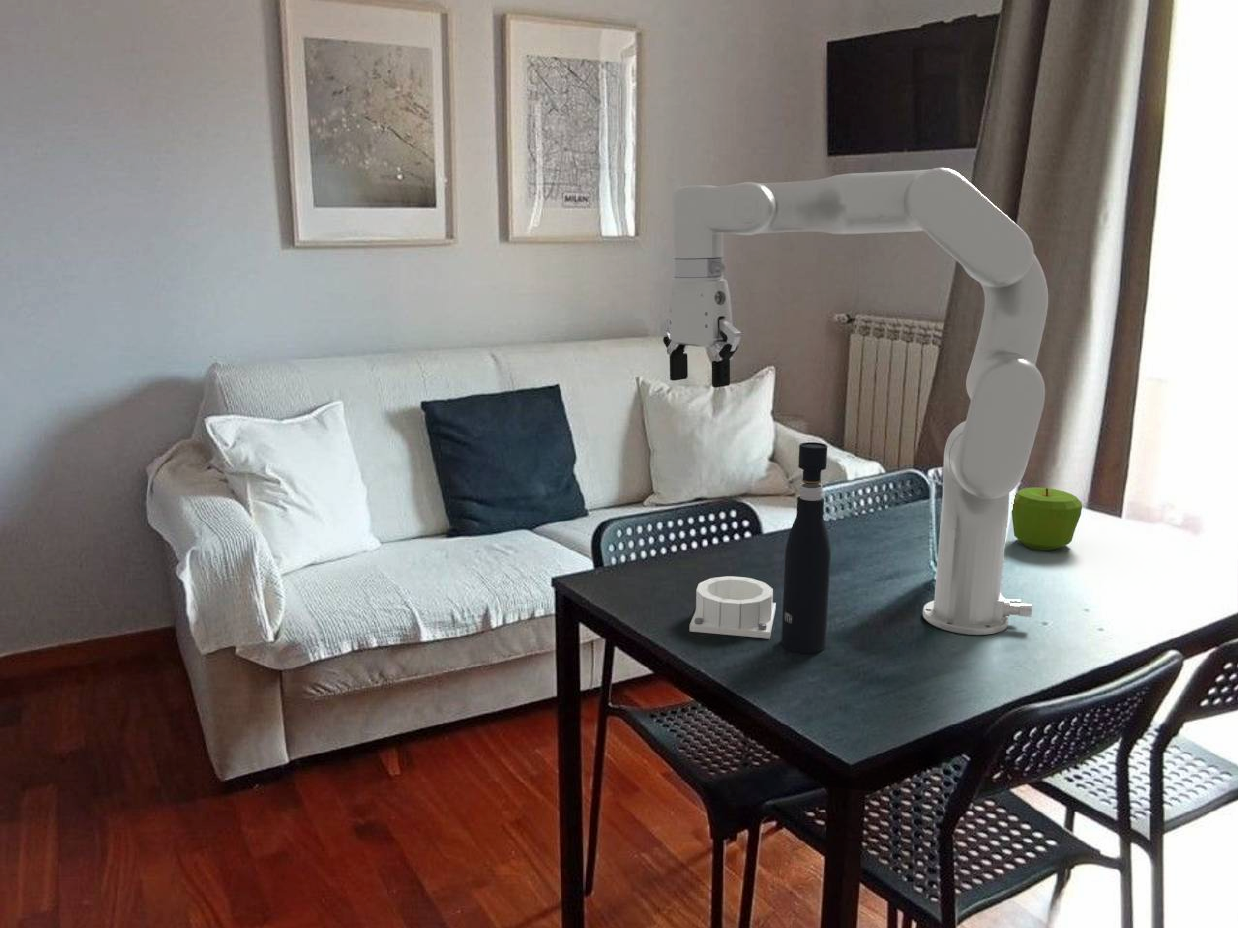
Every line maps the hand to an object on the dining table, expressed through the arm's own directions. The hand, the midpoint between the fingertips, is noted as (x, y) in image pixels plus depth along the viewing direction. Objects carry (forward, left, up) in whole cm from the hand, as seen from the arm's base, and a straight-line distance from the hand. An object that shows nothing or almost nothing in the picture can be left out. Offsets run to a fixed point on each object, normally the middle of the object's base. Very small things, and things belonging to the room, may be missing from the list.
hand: (699, 382), depth 159 cm
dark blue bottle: (-18, +14, -36) cm, 43 cm away
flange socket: (-7, +7, -36) cm, 37 cm away
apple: (-60, -43, -36) cm, 82 cm away
